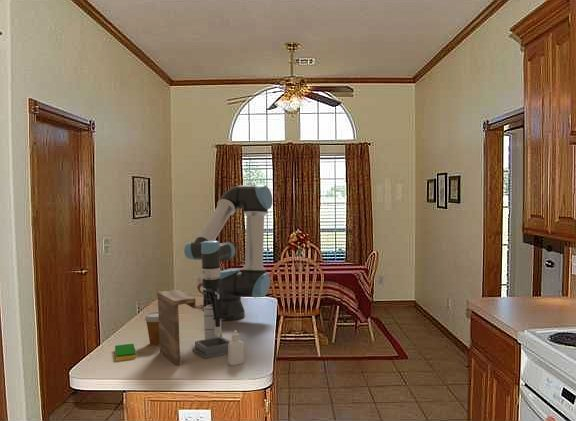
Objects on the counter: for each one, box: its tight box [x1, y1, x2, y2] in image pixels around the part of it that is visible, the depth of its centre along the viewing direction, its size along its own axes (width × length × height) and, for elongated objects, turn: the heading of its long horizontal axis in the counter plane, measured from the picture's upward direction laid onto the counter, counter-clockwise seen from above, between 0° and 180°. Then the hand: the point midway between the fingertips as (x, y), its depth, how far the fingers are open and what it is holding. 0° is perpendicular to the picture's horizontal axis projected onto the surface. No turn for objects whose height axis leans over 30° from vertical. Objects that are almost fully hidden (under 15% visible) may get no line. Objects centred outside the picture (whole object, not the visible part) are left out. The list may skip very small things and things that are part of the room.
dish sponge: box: [114, 343, 137, 362], centre depth 206 cm, size 7×14×2 cm, turn 20°
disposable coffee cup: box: [144, 311, 160, 346], centre depth 219 cm, size 10×10×12 cm
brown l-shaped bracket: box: [156, 289, 197, 366], centre depth 201 cm, size 8×20×24 cm, turn 31°
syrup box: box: [203, 304, 223, 340], centre depth 222 cm, size 6×6×14 cm
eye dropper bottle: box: [227, 330, 245, 366], centre depth 192 cm, size 4×6×12 cm
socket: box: [191, 336, 231, 359], centre depth 207 cm, size 13×13×4 cm
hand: (213, 331), depth 223 cm, fingers closed on syrup box, 8 cm apart
